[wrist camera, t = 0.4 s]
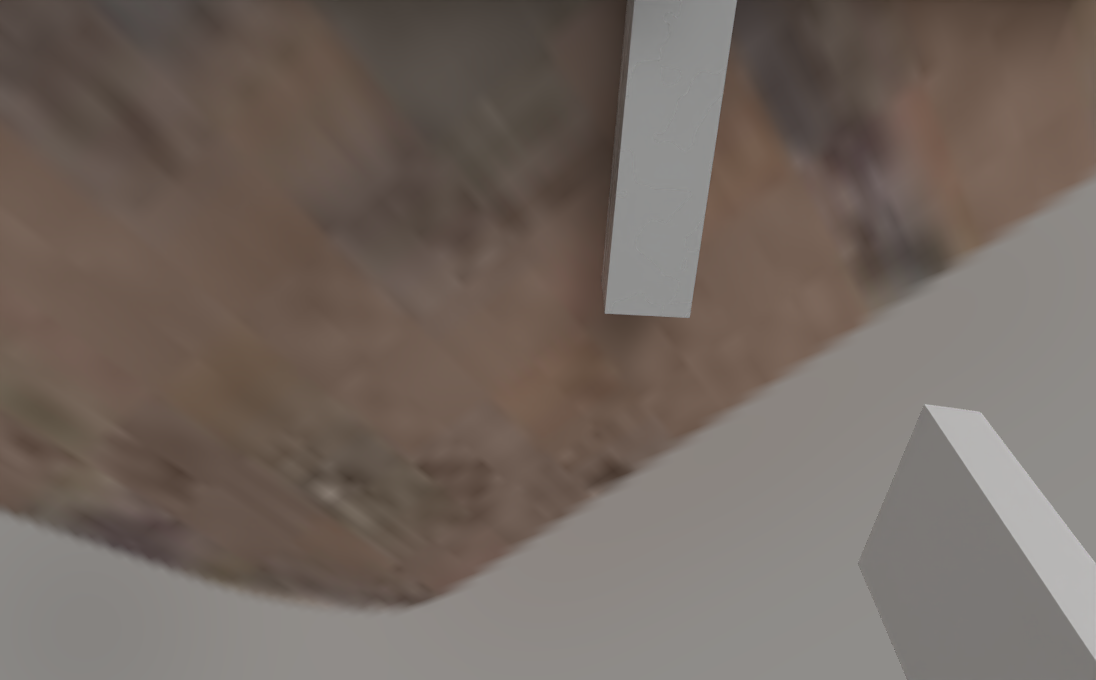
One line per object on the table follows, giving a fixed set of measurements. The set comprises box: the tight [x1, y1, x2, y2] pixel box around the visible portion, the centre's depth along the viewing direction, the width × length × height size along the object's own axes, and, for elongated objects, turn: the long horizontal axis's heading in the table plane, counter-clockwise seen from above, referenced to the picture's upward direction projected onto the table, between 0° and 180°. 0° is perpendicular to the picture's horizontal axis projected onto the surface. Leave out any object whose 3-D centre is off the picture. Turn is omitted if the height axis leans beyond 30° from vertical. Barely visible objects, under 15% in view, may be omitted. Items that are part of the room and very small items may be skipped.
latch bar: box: [601, 0, 737, 318], centre depth 27 cm, size 16×4×3 cm, turn 177°
